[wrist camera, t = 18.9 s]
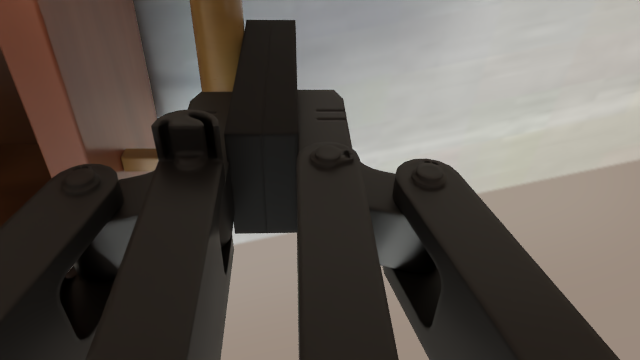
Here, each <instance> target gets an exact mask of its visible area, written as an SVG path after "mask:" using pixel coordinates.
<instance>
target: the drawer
mask: <svg viewBox="0 0 640 360" xmlns="http://www.w3.org/2000/svg"><path fill="white" fill-rule="evenodd" d="M190 7H191V15H192V22H193V29H194V36H195V44H196V51H197V58H198V66H199V73H200V80H201V88H202V92H232V91H233V86H234V81H235V76H236V71H237V66H238V61H239V56H240V51H241V46H242V41H243V36H244V21H243V8H242V0H190ZM156 120H157V115H156V110H155V105H154V100H153V95H152V91H151V86H150V81H149V76H148V71H147V66H146V61H145V57H144V52H143V47H142V42H141V37H140V32H139V28H138V23H137V18H136V13H135V8H134V3H133V0H0V227H1V226H2V225H3V224H4V223H5V222H6V221H7V220H8V219H9V218H10V217H11V216H12V215H14V214H15V213H16V212H17V211H18V210H19V209H20V208H21V207H22V206H23V205H24V204H25V203H26V202H27V201H28V200H29V199H30V198H31V197H32V196H33V195H34V194H36V193H37V192H38V191H39V190H40V189H41V188H42V187H43V186H44V185H45V184H46V183H47V182H48V181H49V180H50V179H51V178H53V177H54V176H56V175H57V174H58V173H60V172H62V171H64V170H66V169H69V168H71V167H74V166H78V165H83V164H102V165H105V166H109V167H111V168H112V169H113V170H114V171H116V172H117V176H118V179H119V180H120V179H125V178H130V177H134V176H139V175H143V174H146V173H149V172H152V171H154V170H155V169H156V166H157V163H158V156H157V152H156V147H155V143H154V138H153V133H152V129H151V126H152V124H153V123H154V122H155V121H156Z"/></svg>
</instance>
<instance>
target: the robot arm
mask: <svg viewBox="0 0 640 360" xmlns="http://www.w3.org/2000/svg"><path fill="white" fill-rule="evenodd" d="M151 129H152V133H153V138H154V143H155V147H156V152H157V156H158V163H157V166H156V169H155V170H154V171H152V172H149V173H146V174H143V175H139V176H134V177H130V178H125V179H120V180H119V179H118V176H117V172H116V171H114V170H113V169H112V168H111V167H109V166H105V165H102V164H83V165H78V166H74V167H71V168H69V169H66V170H64V171H62V172H60V173H58V174H57V175H56V176H54V177H53V178H51V179H50V180H49V181H48V182H47V183H46V184H45V185H44V186H43V187H42V188H41V189H40V190H39V191H38V192H37V193H36V194H34V195H33V196H32V197H31V198H30V199H29V200H28V201H27V202H26V203H25V204H24V205H23V206H22V207H21V208H20V209H19V210H18V211H17V212H16V213H15V214H14V215H12V216H11V217H10V218H9V219H8V220H7V221H6V222H5V223H4V224H3V225H2V226H1V227H0V360H220V359H221V349H222V342H223V334H224V326H225V318H226V309H227V302H228V293H229V285H230V276H231V269H232V260H233V252H234V247H233V239H232V229H233V222H234V228H235V234H238V233H295V232H297V265H298V266H297V268H298V270H297V271H298V328H299V329H298V332H299V360H399V359H398V355H397V349H396V344H395V339H394V334H393V328H392V323H391V318H390V313H389V309H388V303H387V298H386V292H385V287H384V282H383V277H382V272H381V267H380V265H381V266H383V270H384V274H385V276H386V278H387V279H388V281H389V283H390V285H391V287H392V289H393V291H394V293H395V295H396V297H397V299H398V300H399V302H400V304H401V306H402V308H403V310H404V312H405V314H406V316H407V318H408V319H409V322H410V323H411V325H412V327H413V329H414V331H415V333H416V335H417V337H418V339H419V341H420V343H421V344H422V346H423V348H424V350H425V352H426V354H427V356H428V358H429V360H620V359H619V358H618V357H617V356H616V355H615V354H614V352H613V351H612V350H611V349H610V348H609V347H608V345H607V344H606V343H605V342H604V341H603V340H602V338H601V337H600V336H599V335H598V334H597V333H596V331H595V330H594V329H593V328H592V327H591V326H590V325H589V323H588V322H587V321H586V320H585V319H584V318H583V316H582V315H581V314H580V313H579V312H578V311H577V310H576V308H575V307H574V306H573V305H572V304H571V303H570V301H569V300H568V299H567V298H566V297H565V296H564V295H563V293H562V292H561V291H560V290H559V289H558V288H557V286H556V285H555V284H554V283H553V282H552V281H551V280H550V278H549V277H548V276H547V275H546V274H545V272H544V271H543V270H542V269H541V268H540V267H539V266H538V264H537V263H536V262H535V261H534V260H533V259H532V258H531V256H530V255H529V254H528V253H527V252H526V251H525V250H524V248H523V247H522V246H521V245H520V244H519V243H518V241H517V240H516V239H515V238H514V237H513V235H512V234H511V233H510V232H509V231H508V230H507V229H506V227H505V226H504V225H503V224H502V223H501V222H500V220H499V219H498V218H497V217H496V216H495V215H494V214H493V212H492V211H491V210H490V209H489V208H488V207H487V206H486V204H485V203H484V202H483V201H482V200H481V198H480V197H479V196H478V195H477V194H476V193H475V192H474V190H473V189H472V188H471V187H470V186H469V185H468V183H467V182H466V181H465V180H464V179H463V178H462V177H461V175H460V174H459V173H458V172H457V171H456V170H454V169H453V168H452V167H451V166H449V165H447V164H444V163H442V162H440V161H436V160H431V159H413V160H410V161H407V162H404V163H403V164H402V165H400V166H399V167H398V168H397V172H396V174H393V173H388V172H383V171H379V170H376V169H372V168H370V167H368V166H366V165H364V164H363V163H361V162H360V159H359V157H358V155H357V153H356V151H354V150H353V149H352V145H351V139H350V134H349V128H348V123H347V118H346V112H345V107H344V101H343V98H342V97H341V96H339V95H338V94H337V93H336V92H335V91H334V90H297V63H296V26H295V20H247V21H246V26H245V31H244V36H243V41H242V46H241V51H240V56H239V61H238V66H237V71H236V76H235V81H234V86H233V91H232V92H201V93H199V94H198V95H197V96H196V97H195V98H194V99H192V100H191V101H190V104H189V107H188V110H180V111H175V112H172V113H168V114H165V115H164V116H162V117H160V118H158V119H157V120H156V121H155V122H154V123H153V124H152V126H151ZM72 266H73V267H72ZM71 267H72V268H71ZM68 271H69V272H68Z"/></svg>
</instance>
